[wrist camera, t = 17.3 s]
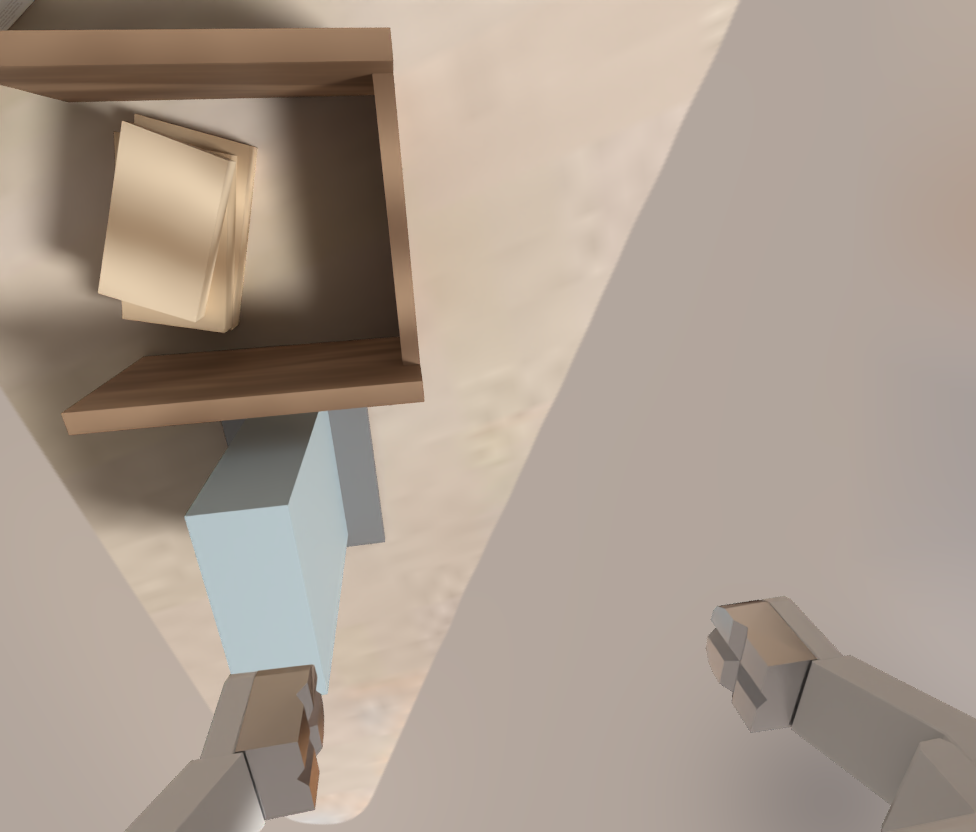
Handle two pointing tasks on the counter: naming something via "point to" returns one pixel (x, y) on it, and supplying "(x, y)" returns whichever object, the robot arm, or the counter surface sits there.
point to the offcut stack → (178, 225)
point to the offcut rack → (220, 75)
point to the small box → (12, 11)
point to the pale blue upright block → (274, 544)
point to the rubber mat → (349, 472)
